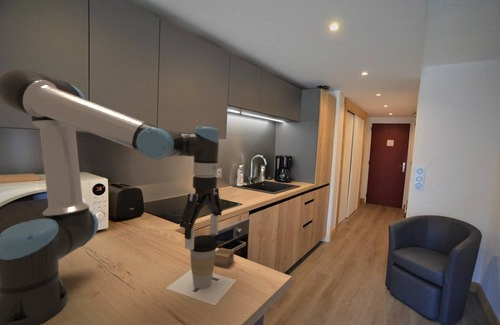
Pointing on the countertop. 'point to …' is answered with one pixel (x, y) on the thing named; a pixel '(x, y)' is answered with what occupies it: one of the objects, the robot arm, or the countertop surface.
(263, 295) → the countertop surface
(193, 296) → the letter sheet
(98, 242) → the countertop surface
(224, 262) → the walnut block
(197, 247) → the coffee cup
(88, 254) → the countertop surface
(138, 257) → the countertop surface
